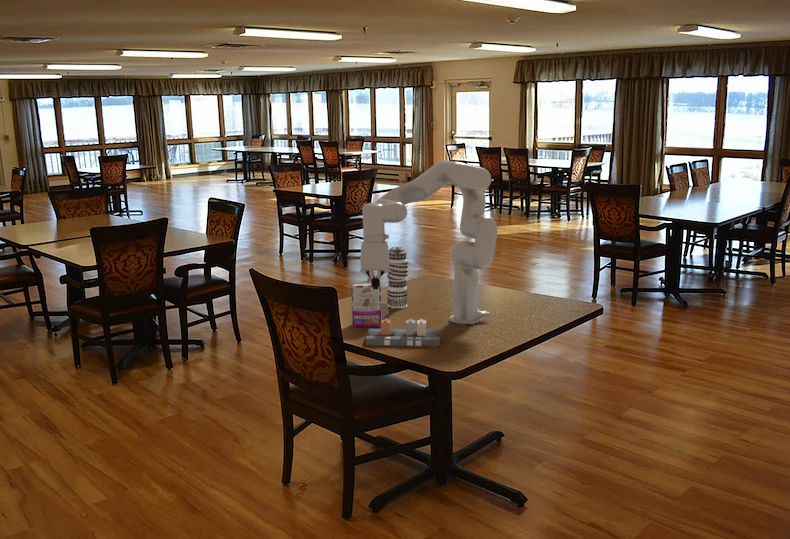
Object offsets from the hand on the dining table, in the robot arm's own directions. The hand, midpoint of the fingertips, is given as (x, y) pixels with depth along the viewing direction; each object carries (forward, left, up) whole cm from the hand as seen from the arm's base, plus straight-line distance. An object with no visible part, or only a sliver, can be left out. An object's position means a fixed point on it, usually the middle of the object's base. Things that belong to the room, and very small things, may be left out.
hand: (375, 288), depth 260 cm
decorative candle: (-5, -44, -19) cm, 48 cm away
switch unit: (-10, +3, -19) cm, 21 cm away
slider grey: (-13, +3, -16) cm, 20 cm away
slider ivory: (-17, +3, -16) cm, 23 cm away
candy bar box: (+5, -15, -19) cm, 25 cm away
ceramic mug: (+2, -27, -19) cm, 33 cm away
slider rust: (-4, +3, -16) cm, 16 cm away
